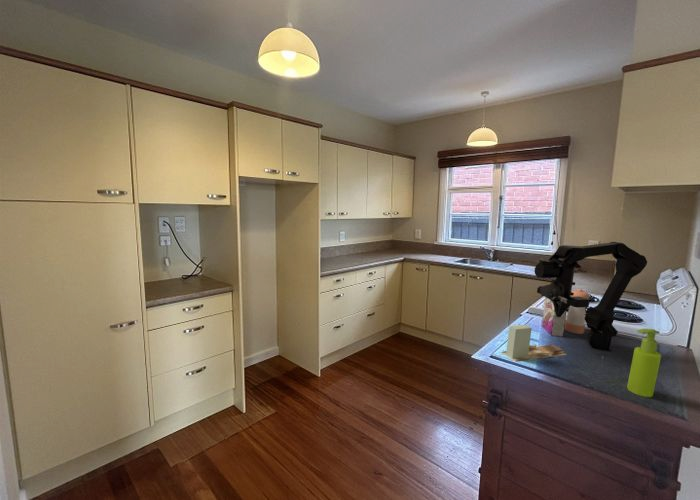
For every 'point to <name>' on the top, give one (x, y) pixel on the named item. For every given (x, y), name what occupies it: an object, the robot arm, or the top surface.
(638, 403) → the top surface
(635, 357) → the soap dispenser
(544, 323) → the candy bar box
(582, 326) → the salt shaker
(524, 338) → the pale green block
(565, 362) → the top surface
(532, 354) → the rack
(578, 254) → the robot arm
